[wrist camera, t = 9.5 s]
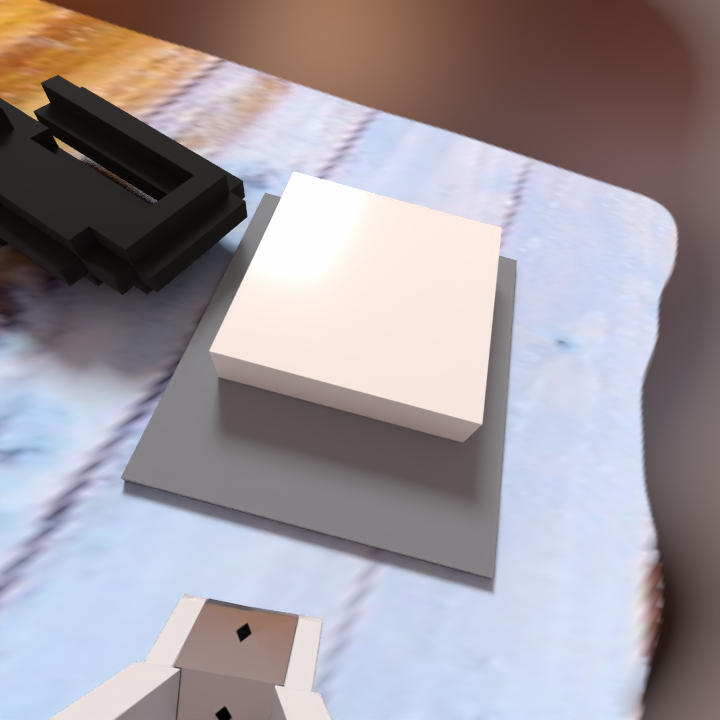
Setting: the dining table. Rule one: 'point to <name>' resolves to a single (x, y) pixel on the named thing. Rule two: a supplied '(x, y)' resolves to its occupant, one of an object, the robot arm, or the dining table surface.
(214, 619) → the robot arm
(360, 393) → the tile
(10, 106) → the tool
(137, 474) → the mat
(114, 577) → the dining table surface
